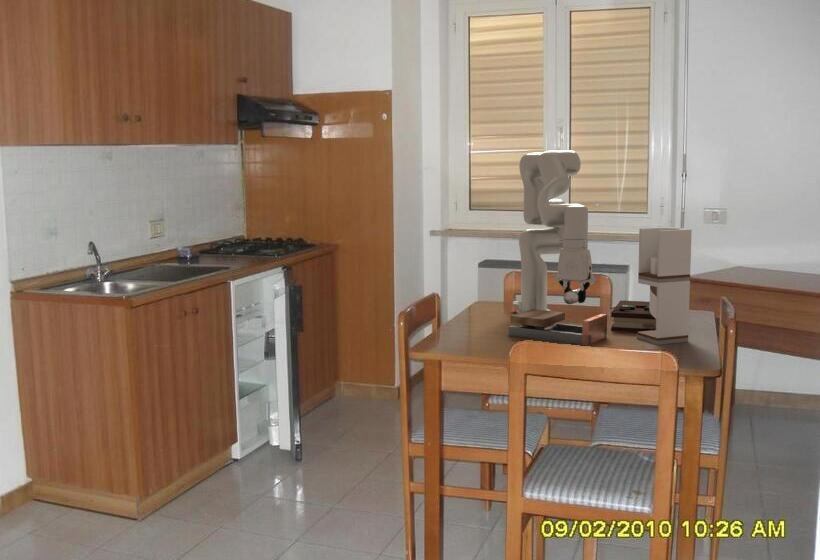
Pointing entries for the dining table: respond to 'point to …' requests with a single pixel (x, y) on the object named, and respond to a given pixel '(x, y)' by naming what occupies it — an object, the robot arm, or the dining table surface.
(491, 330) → the dining table surface
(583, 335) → the track
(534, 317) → the slab
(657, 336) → the white tower
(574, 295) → the roller
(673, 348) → the dining table surface
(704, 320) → the dining table surface
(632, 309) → the decorative book
